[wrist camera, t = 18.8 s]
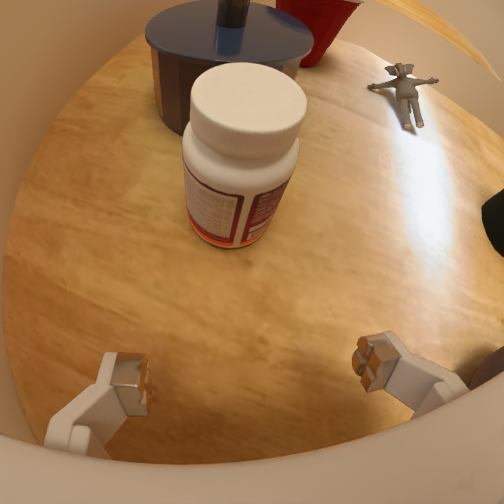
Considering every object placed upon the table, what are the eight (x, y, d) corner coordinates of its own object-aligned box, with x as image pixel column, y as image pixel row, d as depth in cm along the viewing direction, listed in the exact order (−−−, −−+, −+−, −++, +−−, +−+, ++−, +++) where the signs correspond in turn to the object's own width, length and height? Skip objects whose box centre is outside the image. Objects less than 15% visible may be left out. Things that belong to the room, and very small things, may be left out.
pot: (147, 172, 22) (129, 90, 14) (167, 57, 28) (166, -2, 20) (299, 171, 24) (335, 97, 16) (270, 59, 30) (285, 3, 22)
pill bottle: (264, 178, 23) (304, 62, 13) (274, 249, 21) (336, 146, 11) (187, 179, 22) (184, 55, 12) (187, 253, 20) (174, 141, 10)
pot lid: (130, 78, 15) (123, 28, 11) (158, 9, 20) (158, -24, 16) (330, 85, 18) (350, 41, 14) (292, 14, 22) (301, -16, 18)
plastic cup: (326, 46, 34) (350, -17, 23) (343, 85, 30) (379, 9, 19) (254, 33, 33) (269, -37, 21) (256, 70, 29) (276, -19, 18)
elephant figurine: (371, 122, 29) (359, 61, 29) (379, 139, 34) (369, 83, 34) (453, 116, 23) (433, 53, 23) (449, 134, 28) (434, 77, 28)
